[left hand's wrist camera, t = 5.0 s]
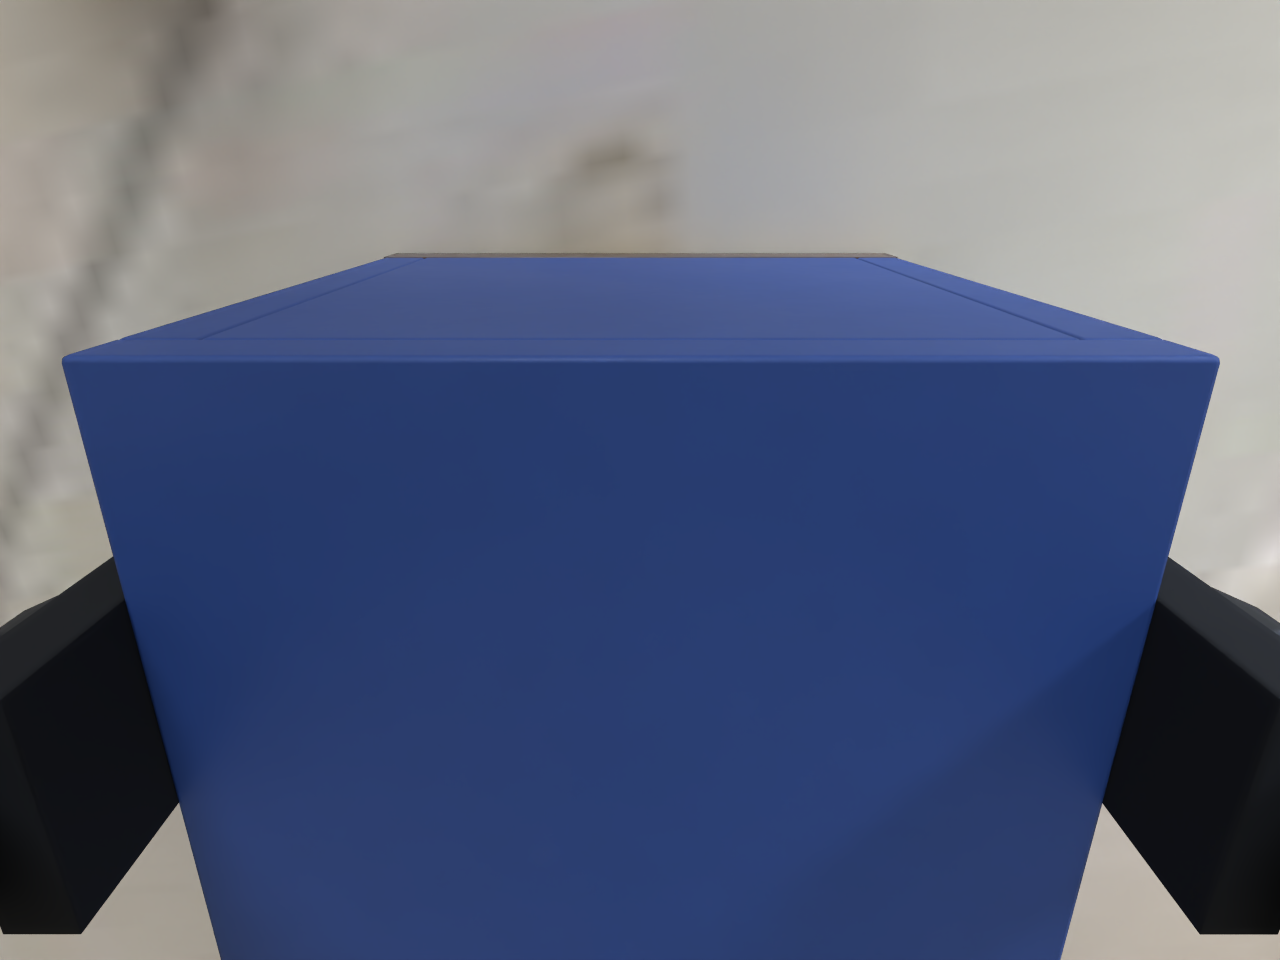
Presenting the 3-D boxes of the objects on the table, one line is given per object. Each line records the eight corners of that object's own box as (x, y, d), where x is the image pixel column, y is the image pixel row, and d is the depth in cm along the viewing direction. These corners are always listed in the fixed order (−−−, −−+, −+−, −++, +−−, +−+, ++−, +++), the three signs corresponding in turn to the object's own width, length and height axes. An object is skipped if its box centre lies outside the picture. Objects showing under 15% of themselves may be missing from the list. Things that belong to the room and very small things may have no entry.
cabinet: (810, 952, 25) (924, 1475, 15) (471, 952, 25) (356, 1474, 15) (885, 253, 17) (1226, 355, 7) (395, 253, 17) (54, 354, 7)
